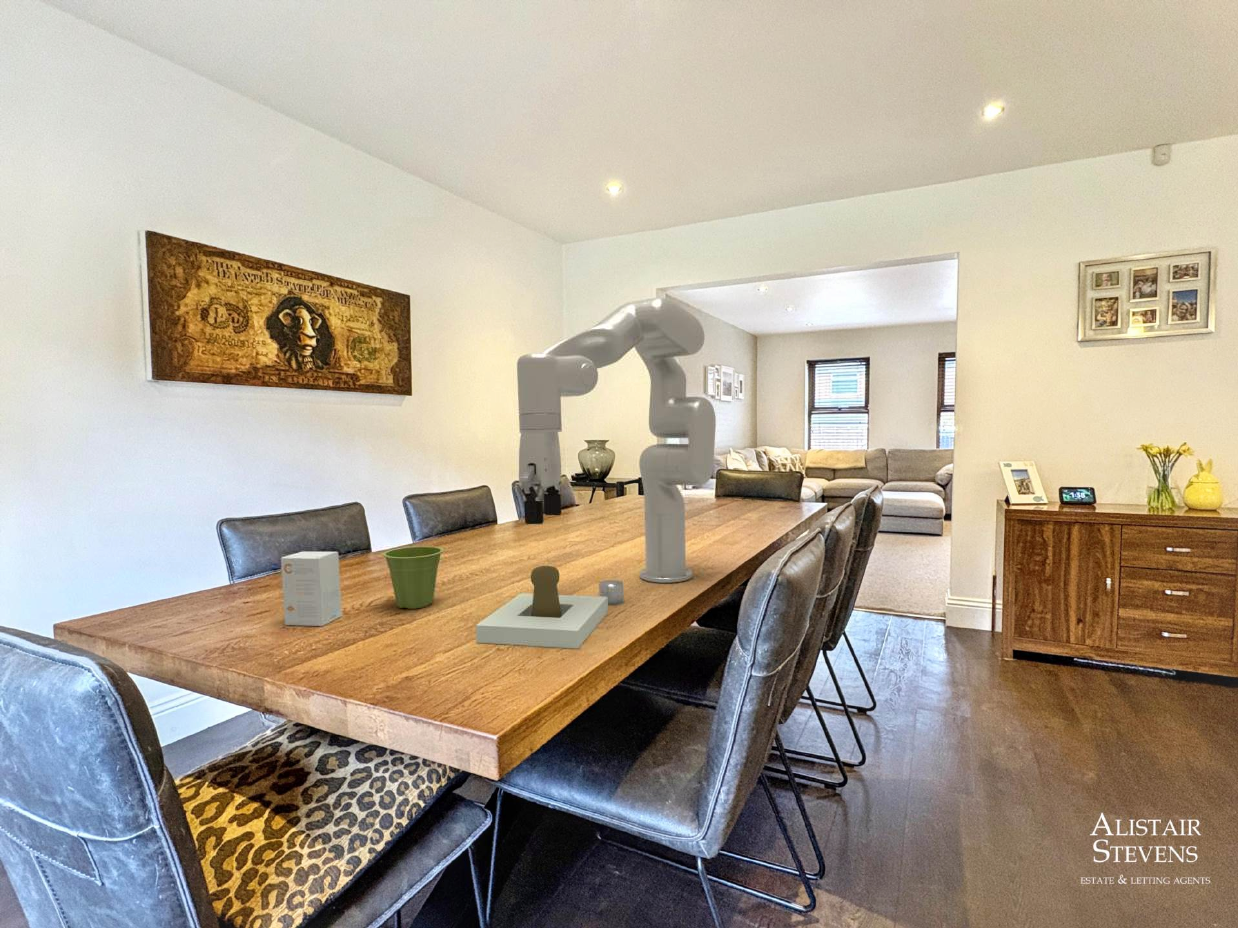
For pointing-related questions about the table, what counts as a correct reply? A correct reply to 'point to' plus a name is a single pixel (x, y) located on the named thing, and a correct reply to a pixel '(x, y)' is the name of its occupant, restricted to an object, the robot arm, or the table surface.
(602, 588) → the short metal pin
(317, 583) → the small box
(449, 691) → the table surface
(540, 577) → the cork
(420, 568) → the plant pot
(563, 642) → the hole board
